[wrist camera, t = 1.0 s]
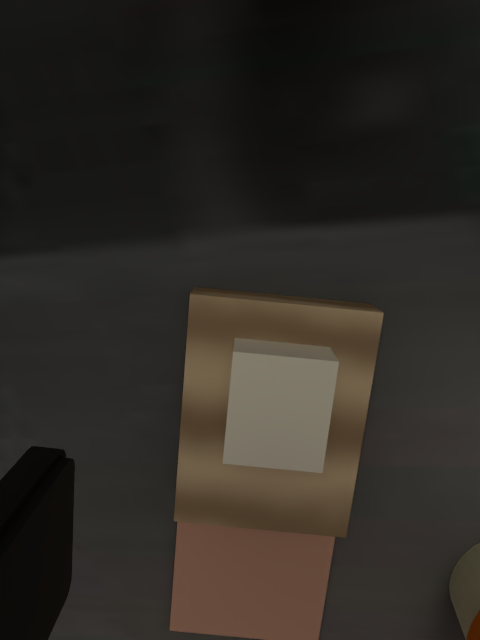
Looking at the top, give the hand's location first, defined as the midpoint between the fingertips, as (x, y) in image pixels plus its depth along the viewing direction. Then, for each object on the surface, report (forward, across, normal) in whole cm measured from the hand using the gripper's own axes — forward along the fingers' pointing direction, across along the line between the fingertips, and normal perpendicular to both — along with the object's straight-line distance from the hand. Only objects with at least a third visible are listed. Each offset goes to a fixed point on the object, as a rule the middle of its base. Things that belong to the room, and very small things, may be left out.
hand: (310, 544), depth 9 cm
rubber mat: (+23, -2, +22) cm, 32 cm away
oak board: (+23, -1, +8) cm, 24 cm away
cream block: (+20, -1, +6) cm, 21 cm away
